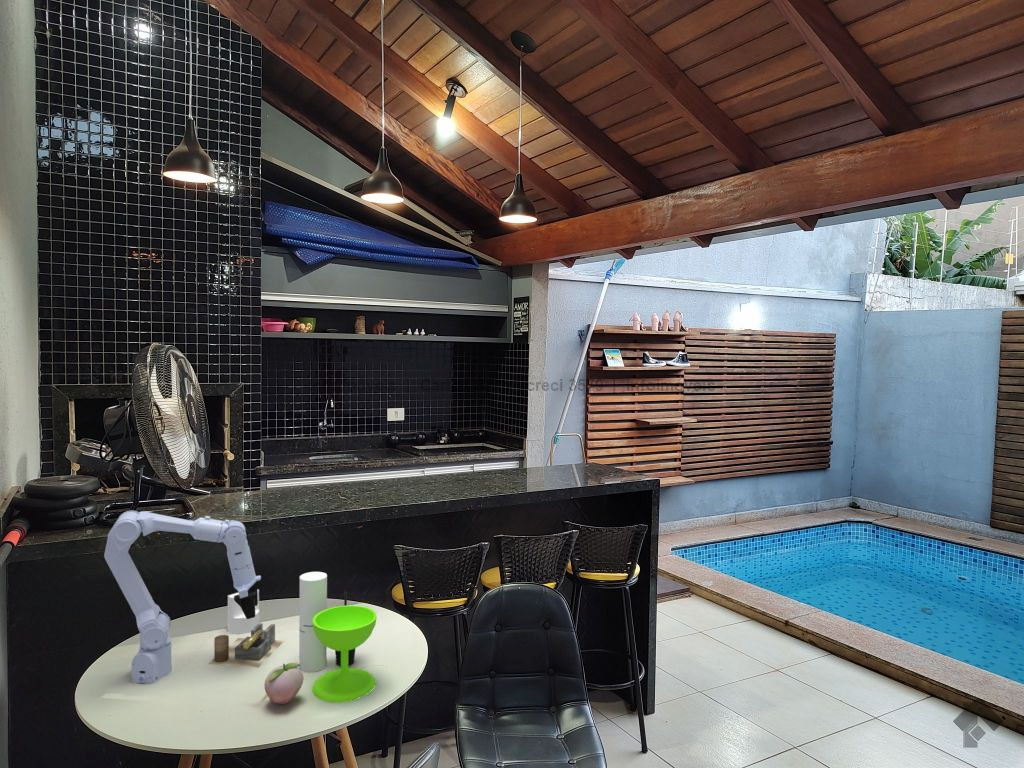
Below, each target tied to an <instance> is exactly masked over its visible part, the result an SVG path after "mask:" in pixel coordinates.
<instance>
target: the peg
mask: <svg viewBox="0 0 1024 768" xmlns="http://www.w3.org/2000/svg"><path fill="white" fill-rule="evenodd" d="M229 641H230V636H229V635H227V634H220V635H217V636H214V640H213V642H214V645H213V646H214V647H213V648H214V649H213V650H214V654H213V655H214V657H213V660H214V661H215V662H224V661H227V660H228V659H229V646H230V643H229Z"/></svg>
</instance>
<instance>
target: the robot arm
mask: <svg viewBox="0 0 1024 768" xmlns="http://www.w3.org/2000/svg"><path fill="white" fill-rule="evenodd" d="M156 531H160V532H170V533H171V532H172V533H179V534H180V533H182V534H190V535H191V537H192V538H193V539H194V540H198V541H205V542H206V541H207V542H213V543H223V544H224V545H225V546H226V550H227V551H226V556H227V560H228V563H229V569H230V572H231V573H230V574H231V577H232V581H233V588H234V589H235V590H236V591H237V593H238V592H239V595H235V596H234V601H235V602H236V603H237V604H238V605H239V606H240V607H241V609H242V611H243V613H244V615H245V617H246V618H247V619H250V618H254V617H255V606H257V604H258V596H257V589H258V587H259V582H260V581H261V579H262V576H261V575H256V571H255V567H254V563H253V558H252V553H251V549H250V545H249V543H248V539H247V533H246V531H247V530H246V526H245V524H243V522H241V521H239V520H236V519H231V520H229V519H225V520H221V519H220V520H219V519H214V518H213V519H212V518H211V516H210V515H205V516H204V517H202V516H201V517H198V518H197V519H195V520H190V519H184V518H179V517H174V516H169V515H164V514H159V513H154V512H150V511H140V512H139V511H136V510H127V511H125V512H123V513H121V514H120V515H119V516H118V518H117V520H116V521H115V522H114V524H113V526H112V527H111V529H110V530H109V532H108V534H107V539H106V545H105V550H104V556H103V557H104V559H105V560H104V561H106V564H107V565H108V567H109V569H110V571H111V572H112V575H113V577H114V578H115V580H116V582H117V584H118V586H119V588H120V590H121V592H122V594H123V596H124V598H125V599H126V601H127V603H128V605H129V606H130V609H131V611H132V613H133V614H134V616H135V619H136V625H137V628H138V629H137V630H138V631H139V641H140V643H139V649H138V651H137V653H136V654H135V655H134V657H133V658H132V660H131V667H130V668H131V683H136V684H139V683H140V684H149V685H150V684H153V685H154V684H155V683H157V682H158V681H159V680H160V679H162V678H163V677H165V676H167V675H169V674H170V673H171V671H172V637H171V636H170V635H169V629H170V627H171V618H170V616H169V615H168V614H167V613H165V612H164V611H162V610H161V608H160V606H159V605H158V604H156V603H155V601H154V600H153V596H152V595H151V593H150V592H149V590H148V588H147V586H146V584H145V582H144V580H143V578H142V576H141V574H140V572H139V571H138V568H137V567H136V565H135V562H134V561H133V559H132V557H131V555H130V553H129V550H130V548H131V545H132V544H134V542H136V540H137V539H138V538H139V537H140V535H141V533H142V536H143V537H146V536H148V535H149V534H151V533H154V532H156Z"/></svg>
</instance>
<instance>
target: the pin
mask: <svg viewBox="0 0 1024 768" xmlns="http://www.w3.org/2000/svg"><path fill="white" fill-rule="evenodd" d="M262 635H263V631H262V630H258V631H257V632H256V633H254V634H253V635H252V636H251V635H250V636H249V637H250V638H249V639H248V640H247V641H246V642H244V643H243V644H242V645H241V648H242V649H243V650H247V649H248V648H249V647H250V646H251V645H252V644H253V643H254V642H255V641H256V640H257V639H258V638H260V637H261V636H262Z"/></svg>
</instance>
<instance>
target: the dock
mask: <svg viewBox="0 0 1024 768" xmlns="http://www.w3.org/2000/svg"><path fill="white" fill-rule="evenodd" d="M263 627H264V625H263V623H262V622H259V624H258V625H256V626H255V627H254V628H253V629H252V630H251V632H250V636H246V637H245V638H244V637H238V638H236V639H235V640H234V641H233V642H232V643H231V644H229V659H228V660H227V661H224V662H215V661H214V659H213V660H211V661H210V662H209V663H208V665H215V666H216V665H217V666H218V665H219V666H231V667H232V666H233V667H243V668H244V667H247V668H261V666H262V665H263V664H264V663H265V662H266V660H268V658H270V657H271V656H272V655H273V653H274V652H275V651H276V650H277V649H278V648H279V647H281V645H282V644H283V643H284V642H285V640H276V624H275V623H271V624H270V625H269V626H268V627H266V628H265V629H263ZM258 630H262V631H263V635H262V636H261V637H260V638H258V639H257V640H256V641H255V642H254V643H253V644H252V645H251V646H250V647H249V648H248V649H247V650H243V649H242V648H241V645H242V644H243V643H244V642H246V641H247V640H248V639H249V638H250V637H251V636H252V635H253V634H254V633H256V632H257V631H258Z"/></svg>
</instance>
